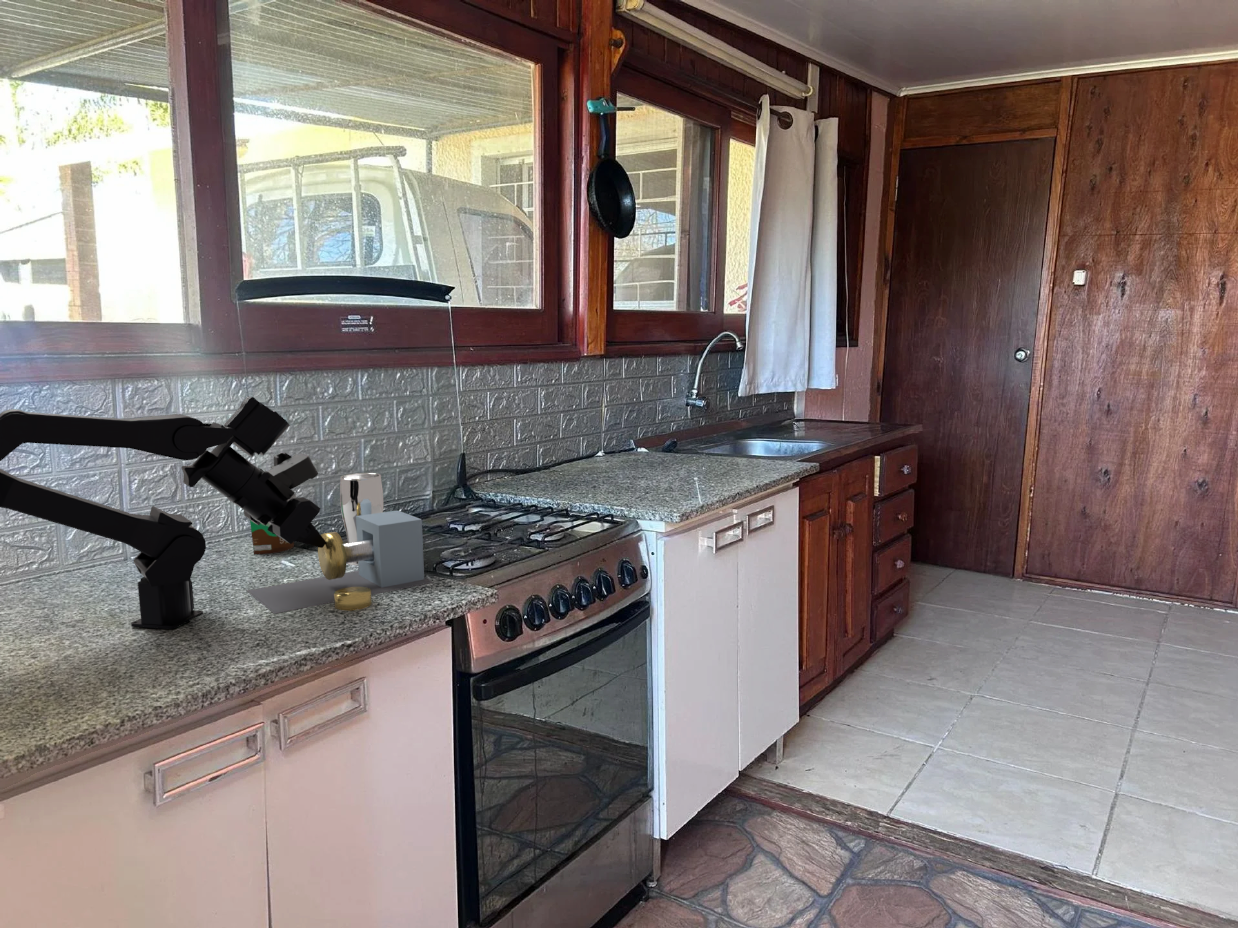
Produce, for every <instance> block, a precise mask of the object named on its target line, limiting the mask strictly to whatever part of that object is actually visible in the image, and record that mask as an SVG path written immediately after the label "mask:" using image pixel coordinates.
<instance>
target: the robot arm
mask: <svg viewBox="0 0 1238 928" xmlns="http://www.w3.org/2000/svg"><path fill="white" fill-rule="evenodd" d="M290 426H291V425H290V423H289V422H288V421H287V420H286V419H285V418H284V417H283V416H282V415H281V414H279V412H277V411H276V410H273V409H271V408H269V407H268V406H266V405H265V404H264V403H262V402H260V401H259V400H257V398H255V397H254V396H246V398H245V399H243V401H242V402H241V404H240V406H238V409H237V410H235V412H234V413H233V414H232V415H231V416H230V417H229V418H228V419H227V420H226V421H225V422H224V424H221V423H217V422H214V421H213V422H212V423H207V422H205V423H204V422H202V420H199V419H197V418H195V417H192V416H188V415H185V414H181V413H180V414H178V413H176V414H175V413H173V414H165V415H164V414H163V415H162V414H161V415H150V416H143V417H136V418H135V417H134V418H115V417H106V416H105V417H101V416H90V415H89V416H87V415H76V414H74V415H73V414H63V413H62V414H61V413H60V414H59V413H45V412H32V411H25V410H22V409H17V408H13V409H12V408H11V409H10V408H9V409H6V410H4V411H2V412H0V462H1V461H3V460H4V459H5V458H6V457H7V456H9V455H10V454H11V453H12V452H13V451H15V450H16V449H17V448H18V447H20V446H21V445H23V444H43V445H45V444H46V445H59V446H62V445H63V446H78V447H79V446H82V447H83V446H84V447H100V448H102V447H103V448H120V449H131V450H137V451H141V452H145V453H150V454H153V455H157V456H160V457H161V456H162V457H166V458H173V459H177V460H180V461H181V460H182V461H192V460H193V461H194V460H195V461H194V462H193V464H190V465H182V466H181V470H182V474H183V480H182V482H183V484H184V485H186V486H188V487H189V488H194V487H196V485H197V484H198V483H199V482H200V480H203V481H204V483H207V484H208V485H210V486H211V487H212V488H213V489H214V490H216V491H217V492H219V493H220V494H221V495H223V496H224V497H226V499H227V500H228V501H230V502H231V503H232V504H234V505H236V506H238V507H239V508H241V509H242V510H243V515H244V516H245V517H246V518H247V519H248V520H249V521H250V520H251V521H252V522H254V523H255V524H257V525H260V523H262V524H264V525H265V526H266V525H267V523H269V524H270V526H269V527H268V531H269V532H271V533H273V534H276V536H278V537H280V538H282V539H283V540H285V541H286V542H288V543H290V544H292V543H293V542H294V543H295V542H296V543H300V544H304V545H308V546H311V547H317V548H318V547H319V548H323V546H324V545H325V544H326V541H325V540H324V539H323V537H322V536H321V533H320V532H319V531H318V529H317V528H316V527H315V526H314V524H313V523H312V522H313V520H314V519H315V518H316V517H318V514H319V513H320V511H321V508H320V507H319V506H318V505H317V504H315V502H313V501H312V500H310V499H308V498H306V497H303V496H302V497H301V496H300V497H297V498H292V499H290V498H291V497H292V496H293V495H294V494H296V492H295V491H294V490H292V489H294V488H296V487H298V486H300V485H302V484H304V483H305V482H307V481H308V480H309V481H310V480H313V479H314V478H316V477H317V476H319V472H318V470H317V468H316V466H315V465H314V464H313V461H312V460H311V458H310V456H309V455H308V454H306V453H301V452H299V453H294V454H293V456H292V455H290V454H288V453H287V452H284V451H280V452H279V453H276V454H275V455H273V465H272V466H271V469H269V470H263V469H262V468H261V467H257V466H256V465H254V464H253V463H252V462H250V460H248V459H247V458H245V457H244V456H243V455H242V454H241V453H239V452H238V451H236V450H235V449H234V448H233V447H231V446H232V445H234V446H235V447H237V448H238V449H239V450H240V451H242V452H243V453H245V454H246V455H248V456H249V457H251V458H253V457H254V456H255V454H256V455H257V456H259V455H261V456H265V454H266V453H267V452H268V451H269V450H270V448H272V446H273V445H275V443H276V442H277V441H278V440H279V439H280V437H281V436H282V435H283V434H284V433H285V432H286V430H288V428H289V427H290ZM212 447H215V448H214V449H212V450H211V451H210V450H207V449H210V448H212ZM288 499H290V500H289V501H287V500H288ZM0 508H2V509H7V510H11V511H14V512H18V513H20V514H24V515H28V516H31V517H35V518H38V519H42V520H45V521H48V522H52V523H55V524H59V525H62V526H65V527H68V528H72V529H76V530H79V531H82V532H85V533H89V534H91V535H95V536H99V537H103V538H107V539H109V540H112V541H116V542H120V543H123V544H126V546H129V547H131V548H133V549H135V550H137V551H138V552H139V553H138V554H137V555H136V556H135V558H134V559H133V563H134V565H135V567H136V569H137V571H138V573H139V574H140V575H142V577H141V578H140V581H138V582H137V589H138V590H137V591H138V602H139V603H138V604H139V612H140V613H139V614H140V618H139V619H136V620H134V621H132V622H131V623H130V626H131V627H133V628H145V629H146V628H148V629H149V628H150V629H160V630H161V629H164V630H172V629H173V630H174V629H177V628H179V627H180V626H183V625H184V624H187V623H189V622H190V621H191V620H193V619H195V618H197V617H199V616H200V615H203V614H204V611H203V610H197V609H196V610H195V603H194V602H195V601H194V591H193V590H194V589H193V582H192V578H191V577H192V574H193V571H194V568H195V565H196V564H197V563H199V562H200V561H201V560H202V558H203V556H204V555H205V553H206V549H207V547H206V546H207V544H206V542H207V541H206V539H205V537H204V535H203V533H202V532H200V530H198V529H196V528H195V527H194V526H192V525H193V522H192V521H191V520H190V519H188V518H187V517H185V516H183V515H182V514H179V513H177V514H174V513H169V512H167V511H164V510H162V509H161V508H159V507H157V506H155V505H152V506H151V507H150V512H149V514H137V513H130V512H129V511H128V512H127V511H124V510H121V509H118V508H114V507H111V506H108V505H105V504H102V503H99V502H96V501H93V500H90V499H87V498H83V497H80V496H78V495H73V494H72V493H71V494H70V493H67V492H64V491H62V490H58V489H55V488H52V487H48V486H46V485H41V484H38V483H36V482H33V481H31V480H30V481H29V480H26V479H23V478H19V477H17V476H16V475H14V474H11V473H10V472H7V471H6V470H4V469H2V468H0Z"/></svg>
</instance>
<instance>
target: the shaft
mask: <svg viewBox="0 0 1238 928" xmlns="http://www.w3.org/2000/svg"><path fill="white" fill-rule="evenodd" d="M320 535H321V536H322V537H323V539H324V540H325V541H326V544H325V545H324V546H323V548H319V547H317V557H318V561H319V562H318V563H319V566H320V570H321V572H322V574H323V577H325V578H326V579H328V580H331V579H337V578H342V577H343V576H344V574H345V573H346V571H347V563H352V562H357V561H363V560H369V559H374V546H373V539H372V540H365V541H359V542H352V543H348V542H347V543H344V540H343V539H342V537H341V535H340V534H339V533H338V532H336V531H331V532H325V533H320Z"/></svg>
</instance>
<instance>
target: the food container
mask: <svg viewBox="0 0 1238 928" xmlns="http://www.w3.org/2000/svg"><path fill="white" fill-rule="evenodd" d="M292 498H298V497H297V495H296V493H294V495H293V496H292V497H291V498H290V499H292ZM290 499H288V500H287V501H289V500H290ZM249 525H250V532H251V538H252V540H251V541H252V546H253V547H252V549H253V555H254V556H255V554H261V555H270V554H276V553H277V554H278V553H282V552H285V551H288V550H291V549H293V548H294V547H295V542H293V543H292V544H290V543H288V542H286V541H285V540H283V539H282V538H280V537H278V536H276V534H273V533H271V532H269V531H268V527H269V526H270V524H269V523H267V525H266V526H265V525H264V524H262V523H260V525H257V524H255V523H254V522H252V521H251V520H250V519H249Z"/></svg>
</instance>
